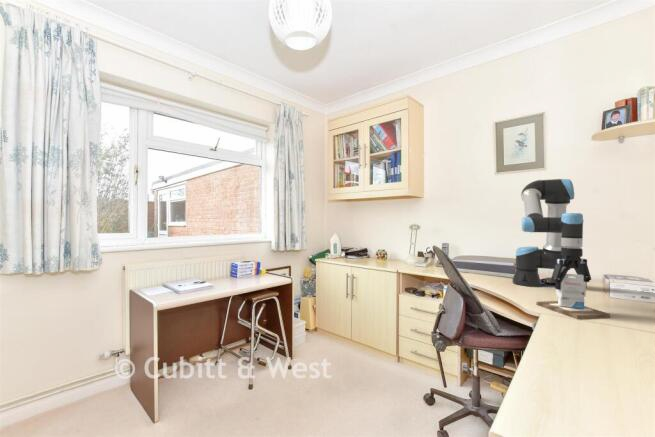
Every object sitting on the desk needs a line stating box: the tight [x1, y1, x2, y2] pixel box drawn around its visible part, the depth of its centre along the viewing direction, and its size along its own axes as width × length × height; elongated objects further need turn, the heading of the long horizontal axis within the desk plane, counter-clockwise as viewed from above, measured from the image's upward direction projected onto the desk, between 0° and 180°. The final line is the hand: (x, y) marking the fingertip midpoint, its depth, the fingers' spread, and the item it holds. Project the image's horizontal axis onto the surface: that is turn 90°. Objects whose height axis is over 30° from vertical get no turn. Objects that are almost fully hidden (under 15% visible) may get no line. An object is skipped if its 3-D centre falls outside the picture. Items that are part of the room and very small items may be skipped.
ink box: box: [557, 273, 585, 309], centre depth 135 cm, size 9×5×15 cm, turn 62°
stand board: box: [535, 300, 611, 320], centre depth 135 cm, size 20×16×2 cm
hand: (570, 296), depth 135 cm, fingers open, 11 cm apart
